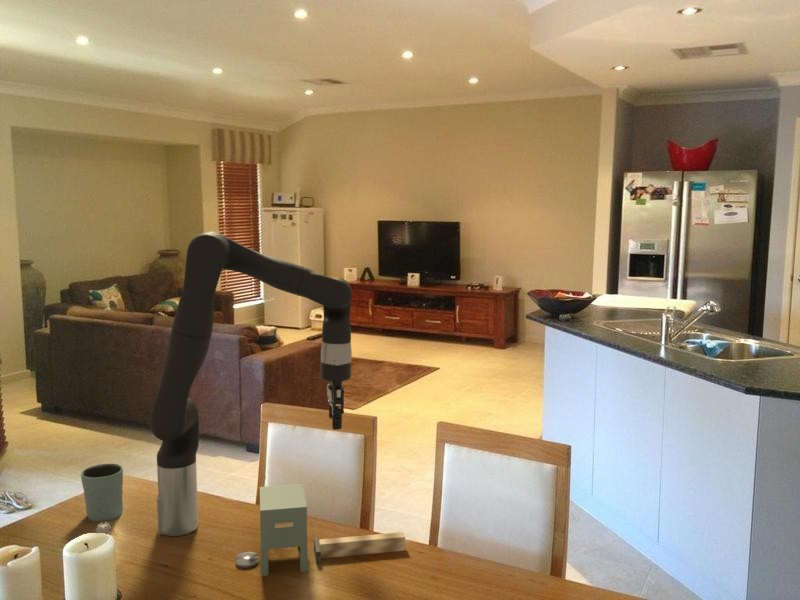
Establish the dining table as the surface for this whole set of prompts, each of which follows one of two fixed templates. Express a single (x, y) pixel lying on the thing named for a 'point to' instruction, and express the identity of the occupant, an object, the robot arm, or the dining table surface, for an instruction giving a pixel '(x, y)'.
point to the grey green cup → (103, 491)
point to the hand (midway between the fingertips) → (335, 423)
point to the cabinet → (283, 521)
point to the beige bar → (358, 545)
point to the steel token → (246, 559)
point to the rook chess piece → (103, 528)
